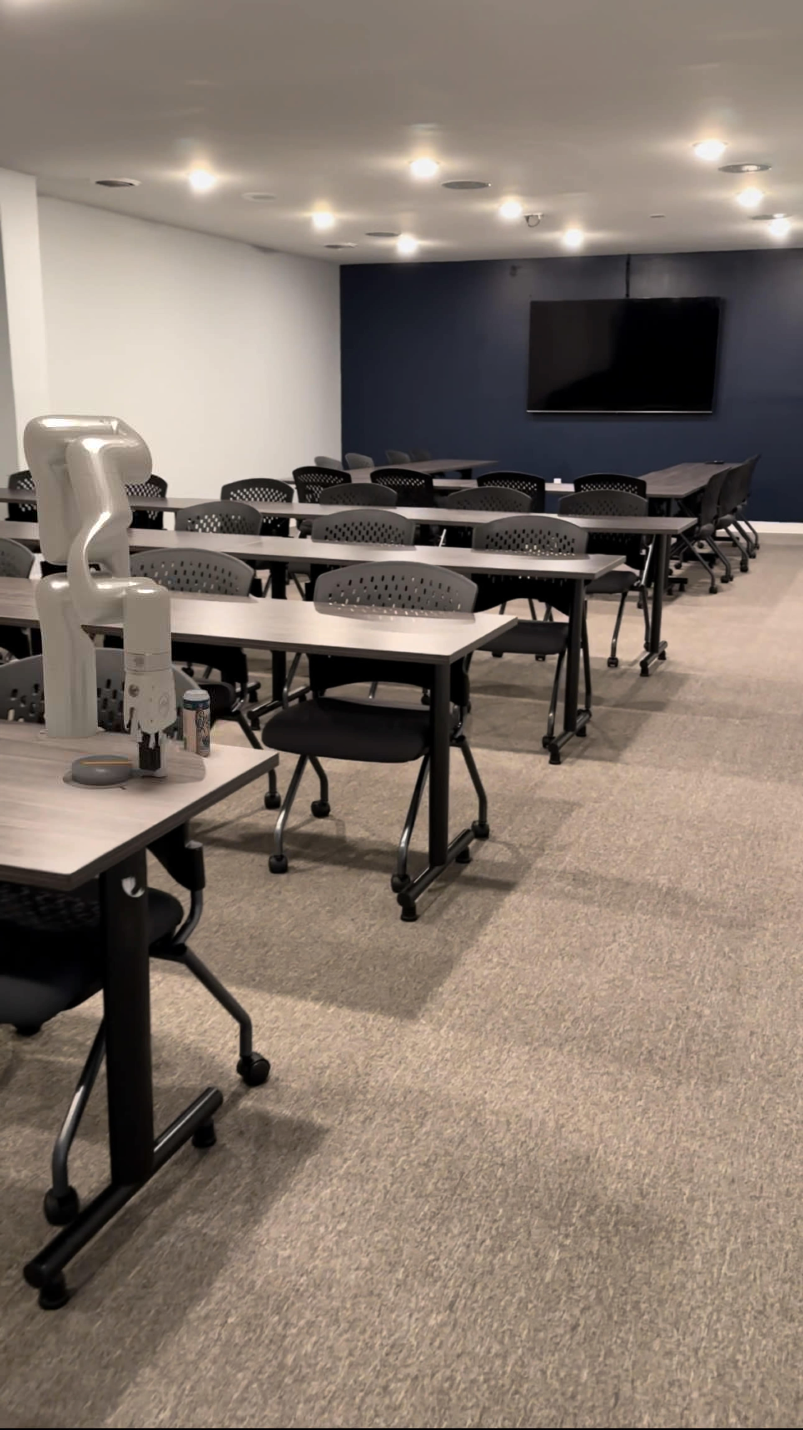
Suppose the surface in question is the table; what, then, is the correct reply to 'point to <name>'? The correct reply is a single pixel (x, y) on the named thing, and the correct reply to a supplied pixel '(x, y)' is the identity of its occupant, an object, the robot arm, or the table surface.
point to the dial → (113, 768)
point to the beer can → (196, 721)
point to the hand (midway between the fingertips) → (150, 768)
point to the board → (70, 781)
